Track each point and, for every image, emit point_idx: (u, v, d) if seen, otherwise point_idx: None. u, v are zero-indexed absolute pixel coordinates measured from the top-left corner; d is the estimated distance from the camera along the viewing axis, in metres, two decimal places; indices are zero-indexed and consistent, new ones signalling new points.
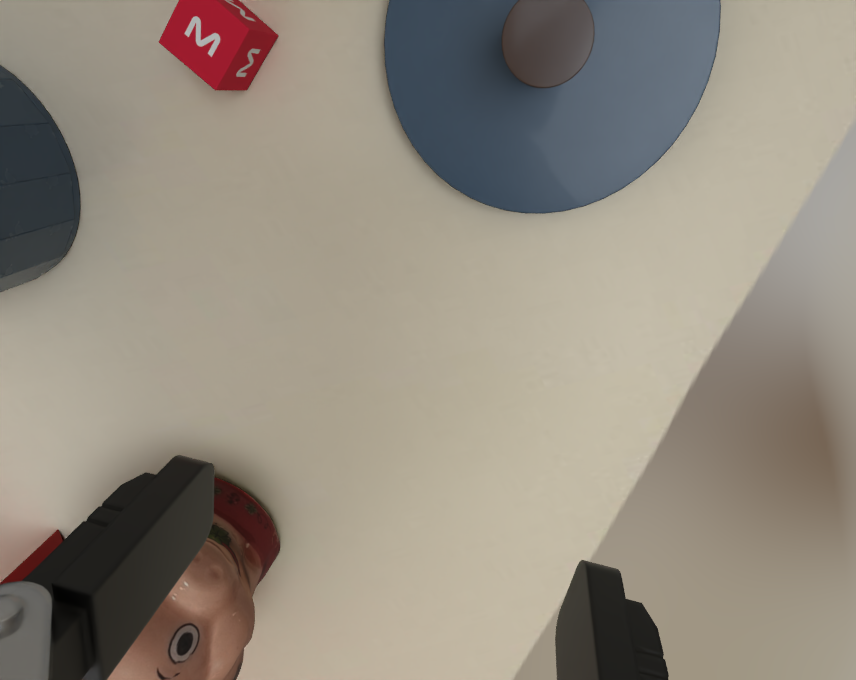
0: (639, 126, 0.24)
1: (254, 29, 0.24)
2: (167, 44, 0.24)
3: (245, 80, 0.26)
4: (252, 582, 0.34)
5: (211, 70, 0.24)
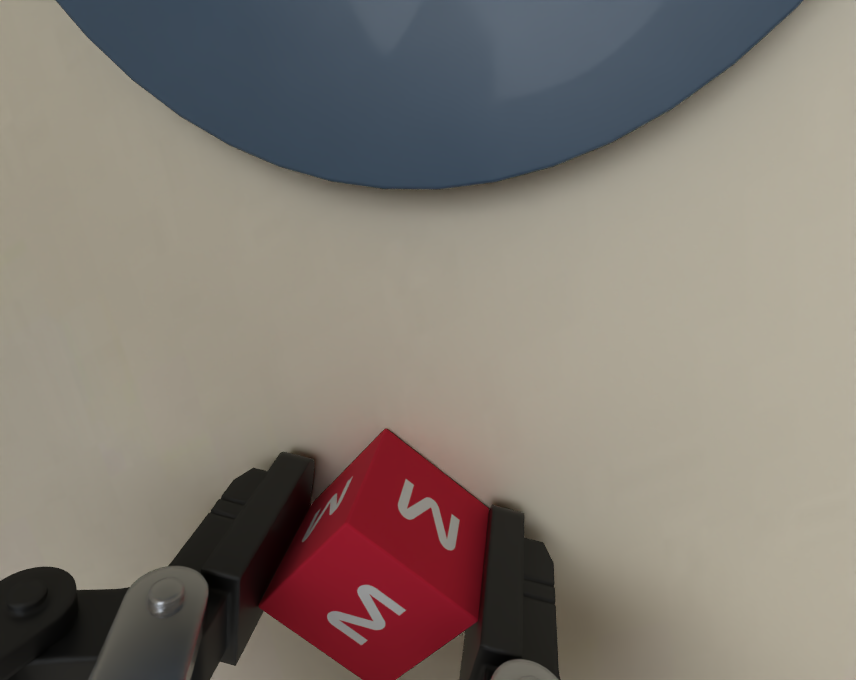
0: None
1: (352, 503, 0.10)
2: (383, 678, 0.11)
3: (467, 516, 0.12)
4: None
5: (434, 618, 0.10)
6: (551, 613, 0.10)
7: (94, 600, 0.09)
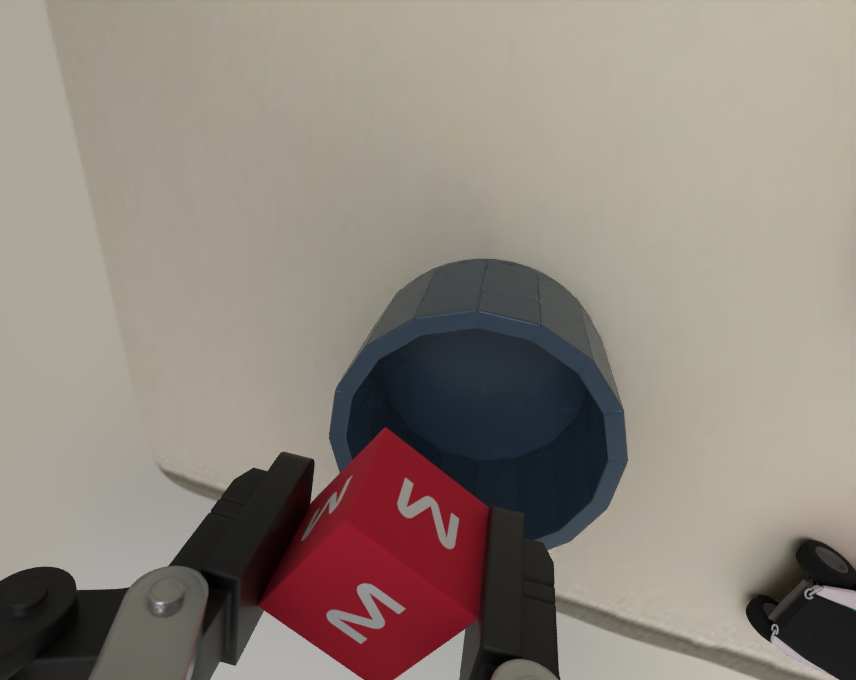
0: None
1: (352, 501, 0.10)
2: (382, 677, 0.11)
3: (467, 514, 0.12)
4: None
5: (434, 616, 0.10)
6: (551, 613, 0.10)
7: (94, 600, 0.09)
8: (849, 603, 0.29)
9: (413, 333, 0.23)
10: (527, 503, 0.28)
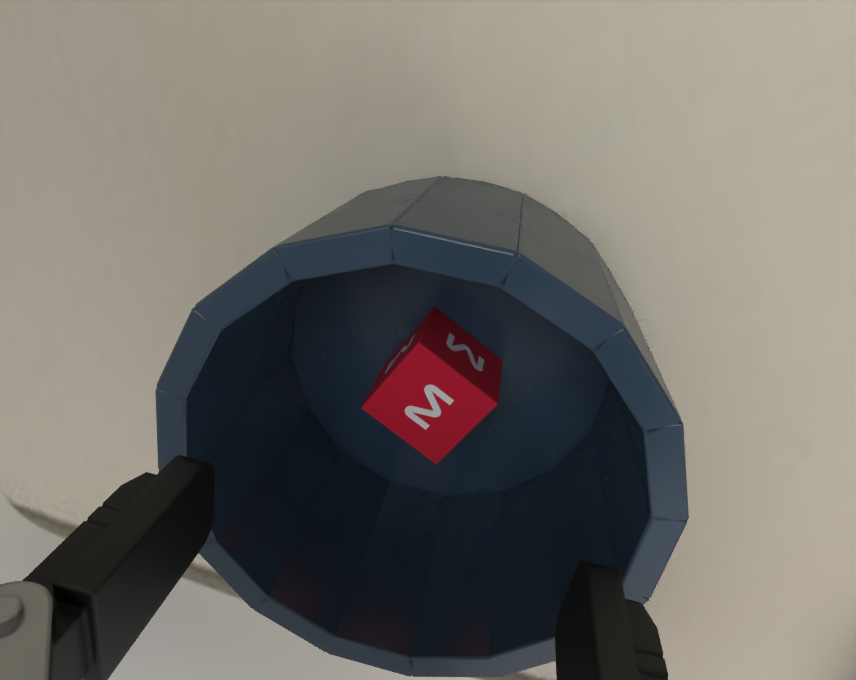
0: None
1: (420, 335, 0.17)
2: (438, 454, 0.18)
3: (489, 359, 0.19)
4: None
5: (471, 404, 0.17)
6: None
7: None
8: None
9: (275, 277, 0.12)
10: (511, 573, 0.17)
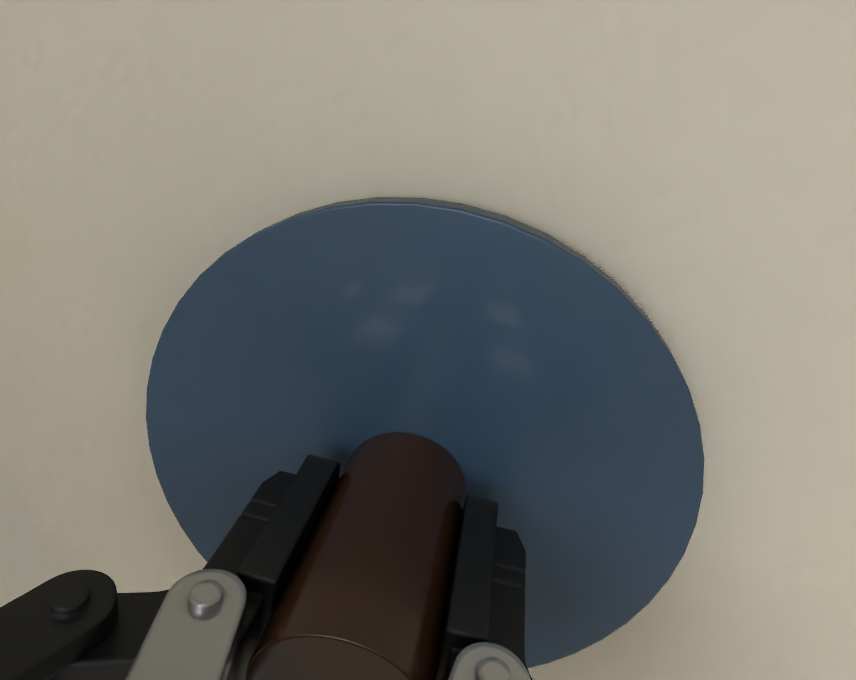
0: (541, 331, 0.12)
1: None
2: None
3: None
4: None
5: None
6: (520, 599, 0.10)
7: (132, 603, 0.09)
8: None
9: None
10: None
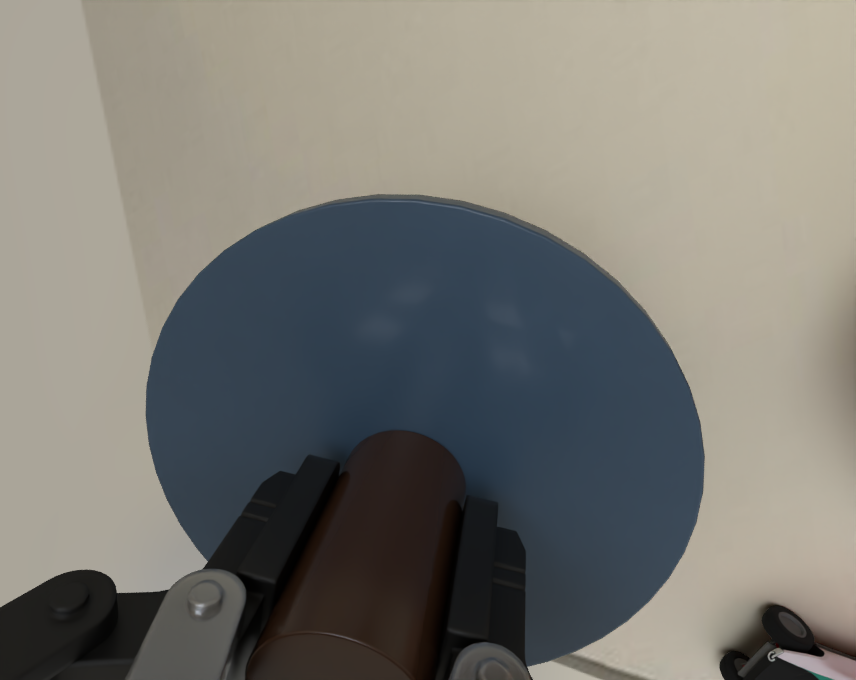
0: (541, 328, 0.12)
1: None
2: None
3: None
4: None
5: None
6: (521, 599, 0.10)
7: (132, 603, 0.09)
8: (806, 666, 0.34)
9: None
10: None
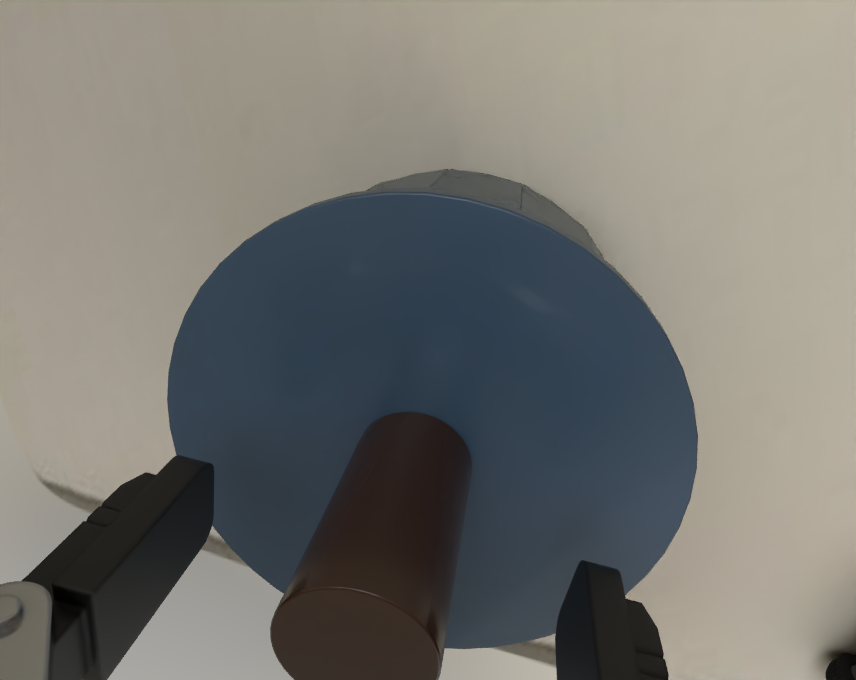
0: (544, 313, 0.12)
1: None
2: None
3: None
4: None
5: None
6: None
7: None
8: None
9: None
10: None
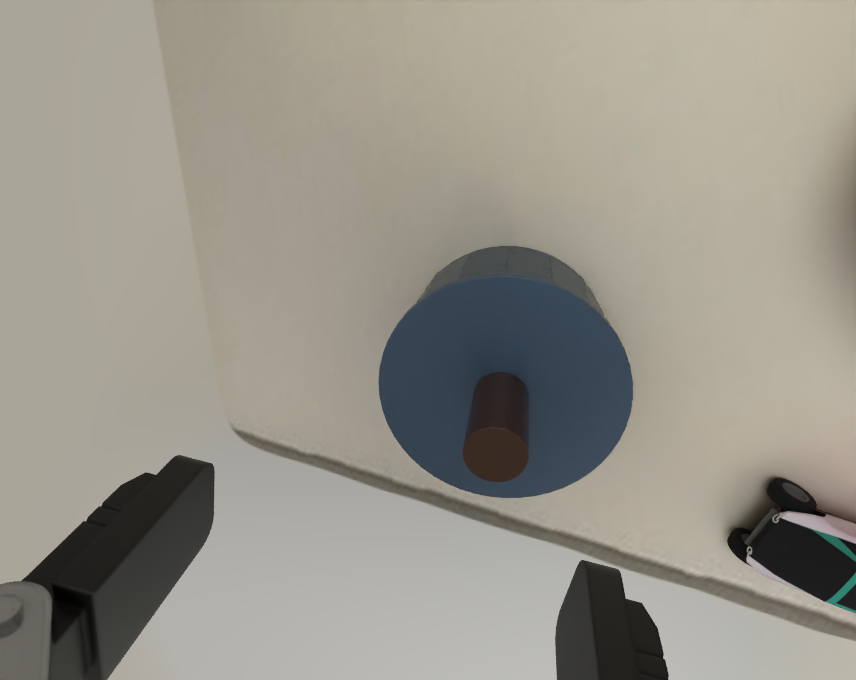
0: (564, 327, 0.28)
1: None
2: None
3: None
4: None
5: None
6: None
7: None
8: (808, 525, 0.36)
9: None
10: None
